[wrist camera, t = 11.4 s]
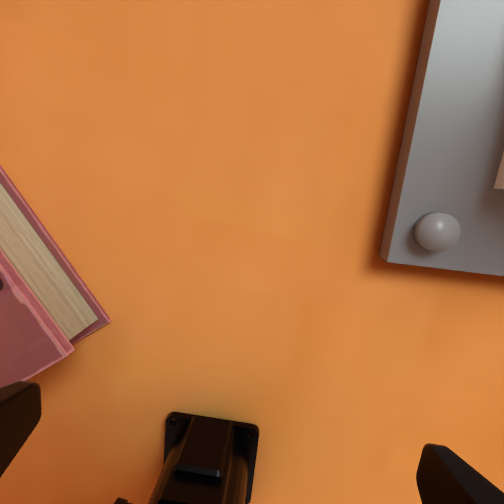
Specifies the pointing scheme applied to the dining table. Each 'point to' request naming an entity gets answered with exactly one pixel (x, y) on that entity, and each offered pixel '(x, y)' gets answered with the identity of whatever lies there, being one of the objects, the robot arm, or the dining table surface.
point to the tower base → (453, 146)
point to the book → (37, 294)
